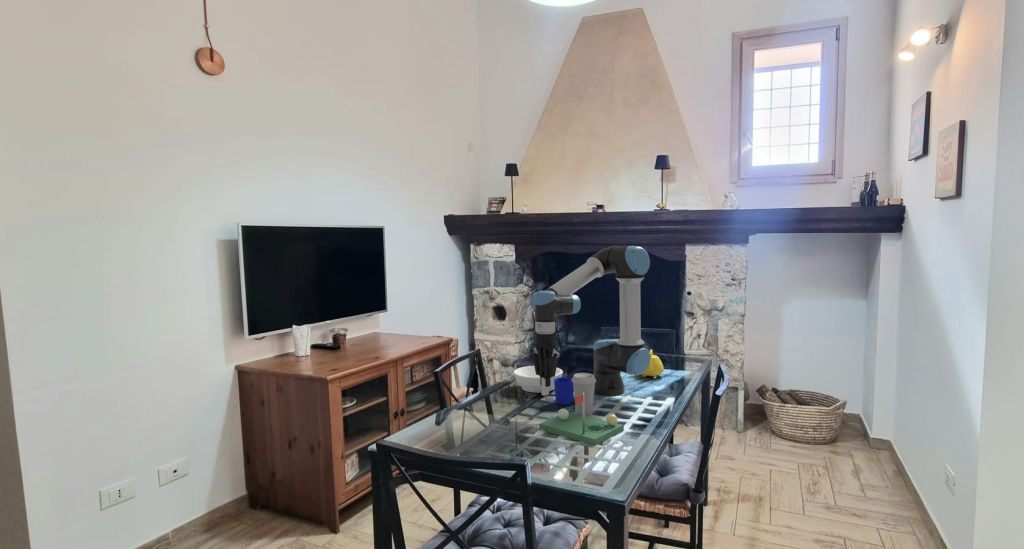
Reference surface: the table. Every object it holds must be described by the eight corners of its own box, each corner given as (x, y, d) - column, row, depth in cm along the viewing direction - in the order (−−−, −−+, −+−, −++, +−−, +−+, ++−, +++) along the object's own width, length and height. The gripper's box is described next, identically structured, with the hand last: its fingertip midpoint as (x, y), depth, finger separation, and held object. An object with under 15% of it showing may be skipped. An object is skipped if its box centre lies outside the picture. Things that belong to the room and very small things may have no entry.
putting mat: (569, 416, 210) (569, 411, 210) (623, 430, 194) (623, 425, 194) (539, 429, 197) (539, 423, 197) (595, 445, 180) (595, 439, 180)
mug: (582, 407, 221) (582, 383, 220) (553, 406, 223) (552, 382, 223) (584, 401, 229) (583, 378, 228) (555, 400, 231) (555, 377, 231)
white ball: (562, 417, 203) (562, 406, 203) (571, 419, 201) (570, 408, 200) (555, 419, 200) (555, 409, 200) (564, 422, 198) (564, 411, 197)
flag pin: (583, 432, 186) (582, 392, 185) (585, 433, 186) (584, 393, 185) (574, 437, 183) (574, 396, 182) (576, 437, 182) (576, 396, 181)
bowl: (563, 382, 259) (562, 365, 259) (562, 396, 237) (562, 377, 236) (516, 382, 261) (515, 365, 261) (511, 396, 239) (511, 377, 238)
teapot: (634, 370, 281) (634, 348, 280) (664, 372, 276) (664, 349, 275) (630, 380, 262) (630, 356, 261) (662, 382, 257) (662, 358, 256)
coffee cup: (577, 418, 208) (577, 379, 207) (568, 410, 217) (567, 373, 216) (600, 415, 210) (600, 377, 209) (590, 408, 220) (590, 371, 219)
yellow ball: (610, 422, 196) (610, 411, 196) (619, 425, 193) (619, 414, 193) (604, 425, 193) (603, 414, 193) (613, 428, 191) (613, 416, 190)
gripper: (525, 331, 205) (525, 393, 207) (552, 335, 197) (552, 400, 198) (538, 329, 211) (538, 389, 212) (565, 333, 202) (565, 395, 203)
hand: (545, 394), depth 205 cm, fingers closed
